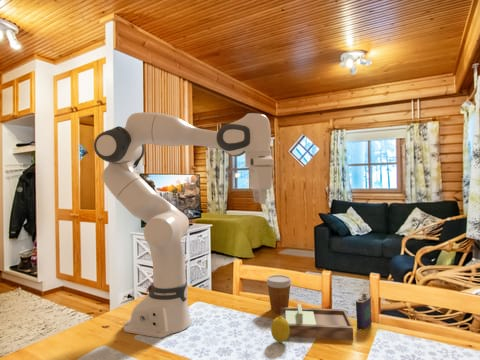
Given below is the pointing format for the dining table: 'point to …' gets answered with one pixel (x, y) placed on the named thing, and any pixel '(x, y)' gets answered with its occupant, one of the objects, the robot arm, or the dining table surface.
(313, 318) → the cover
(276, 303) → the disposable coffee cup
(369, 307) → the flask
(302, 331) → the wooden tray
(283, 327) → the lemon
